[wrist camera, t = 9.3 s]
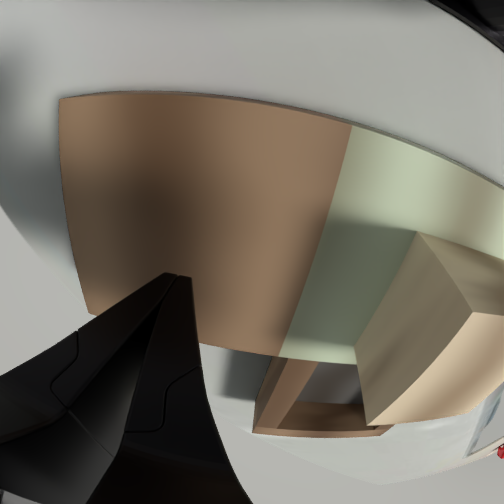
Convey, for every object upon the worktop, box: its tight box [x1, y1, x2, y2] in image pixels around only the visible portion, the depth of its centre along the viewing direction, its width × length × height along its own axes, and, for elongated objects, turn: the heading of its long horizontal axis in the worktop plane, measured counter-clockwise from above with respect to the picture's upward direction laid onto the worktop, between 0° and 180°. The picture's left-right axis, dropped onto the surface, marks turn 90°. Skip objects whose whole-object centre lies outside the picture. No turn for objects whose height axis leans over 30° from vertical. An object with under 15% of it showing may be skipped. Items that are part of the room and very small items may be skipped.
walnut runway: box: [59, 91, 504, 438], centre depth 14 cm, size 34×20×3 cm, turn 81°
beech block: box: [354, 231, 504, 426], centre depth 8 cm, size 6×6×4 cm
